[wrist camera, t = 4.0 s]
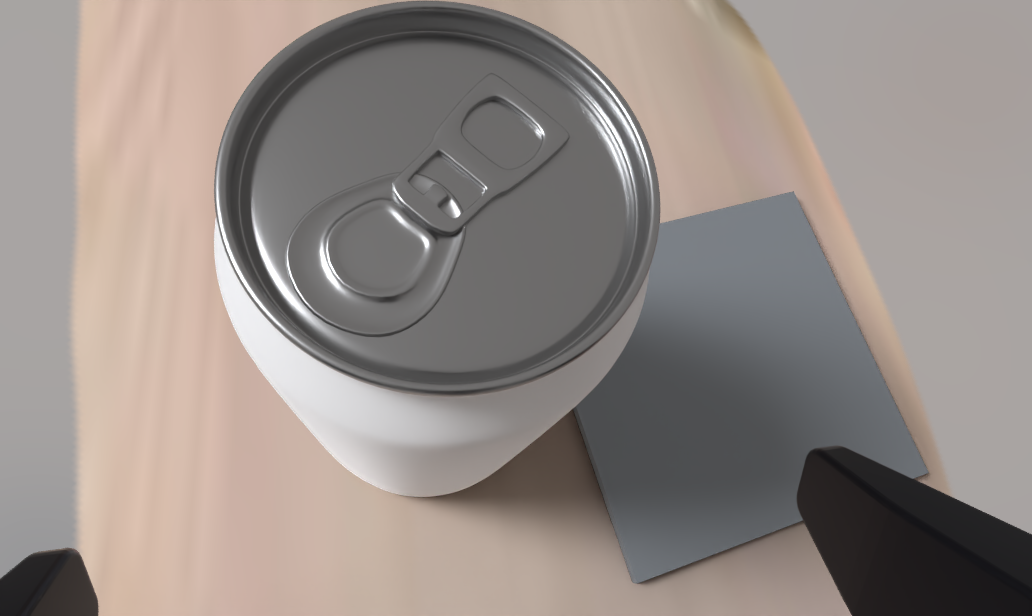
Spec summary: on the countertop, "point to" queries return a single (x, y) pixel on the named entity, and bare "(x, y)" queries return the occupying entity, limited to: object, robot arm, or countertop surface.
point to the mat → (732, 388)
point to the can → (433, 236)
